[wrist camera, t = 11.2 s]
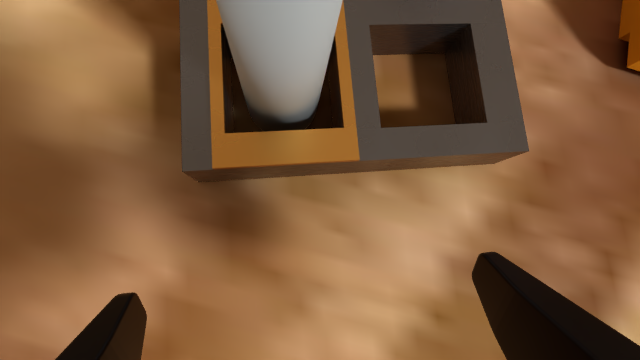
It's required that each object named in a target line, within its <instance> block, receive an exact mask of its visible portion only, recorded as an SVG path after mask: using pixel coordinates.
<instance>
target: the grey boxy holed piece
mask: <svg viewBox="0 0 640 360" xmlns="http://www.w3.org/2000/svg"><path fill="white" fill-rule="evenodd" d="M179 5H180V69H181V132H182V172H184V173H185V174H187V175H188V176H190V177H192V178H193V179H195V180H196V181H198V182H210V181H226V180H242V179H257V178H273V177H289V176H305V175H321V174H337V173H353V172H369V171H385V170H401V169H417V168H433V167H449V166H465V165H481V164H494V163H497V162H500V161H503V160H506V159H508V158H511V157H514V156H517V155H519V154H522V153H525V152H528V151H529V148H528V142H527V137H526V131H525V126H524V121H523V115H522V110H521V105H520V99H519V94H518V89H517V83H516V78H515V73H514V67H513V62H512V56H511V51H510V46H509V40H508V35H507V30H506V24H505V19H504V14H503V8H502V3H501V0H343V1H342V5H341V10H340V14H339V18H338V22H337V26H336V31H335V35H334V39H333V43H332V48H331V52H330V56H329V60H328V64H327V69H328V80H329V91H330V102H331V113H332V124H333V128H329V129H308V130H288V131H267V132H246V133H234V112H233V89H232V65H231V58H233V56H232V53H231V50H230V46H229V43H228V39H227V36H226V33H225V29H224V26H223V22H222V19H221V16H220V12H219V9H218V5H217V2H216V0H179ZM432 53H445V56H446V62H447V69H448V76H449V82H450V89H451V95H452V102H453V108H454V115H455V121H456V124H452V125H431V126H410V127H390V128H381V124H380V115H379V106H378V98H377V89H376V80H375V72H374V63H373V55H391V54H432Z"/></svg>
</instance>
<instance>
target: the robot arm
mask: <svg viewBox="0 0 640 360" xmlns="http://www.w3.org/2000/svg"><path fill="white" fill-rule="evenodd" d="M472 280H473V283H474V285H475V288H476V290H477V293H478V296H479V298H480V301H481V303H482V306H483V308H484V311H485V313H486V316H487V318H488V321H489V324H490V326H491V328H492V331H493V333H494V335H495V337H496V339H497V341H498V343H499V345H500V347H501V349H502V351H503V353H504V355H505V357H506V359H507V360H640V346H639V345H637V344H636V343H634V342H633V341H631V340H630V339H628V338H627V337H625V336H624V335H622V334H621V333H619V332H618V331H616V330H615V329H613V328H611V327H610V326H608V325H607V324H605V323H604V322H602V321H601V320H599V319H598V318H596V317H595V316H593V315H592V314H590V313H589V312H587V311H585V310H584V309H582V308H581V307H579V306H578V305H576V304H575V303H573V302H572V301H570V300H569V299H567V298H566V297H564V296H563V295H561V294H559V293H558V292H556V291H555V290H553V289H552V288H550V287H549V286H547V285H546V284H544V283H543V282H541V281H540V280H538V279H537V278H535V277H533V276H532V275H530V274H529V273H527V272H526V271H524V270H523V269H521V268H520V267H518V266H517V265H515V264H514V263H512V262H511V261H509V260H508V259H506V258H504V257H503V256H501V255H500V254H498V253H496V252H486V253H481V254H480V255H479V256H478V258H477V261H476V263H475V266H474V268H473V271H472ZM146 321H147V315H146V311H145V309H144V307H143V305H142V303H141V301H140V299H139V297H138V295H137V294H136V293H123V294H118V295H117V296H115V297H114V298H113V299H112V300H111V301H110V302H109V303H108V304H107V305H106V306H105V307H104V308H103V310H102V311H101V312H100V313H99V314H98V315H97V316H96V317H95V318H94V319H93V320H92V321H91V322H90V323H89V324H88V325H87V326H86V327H85V329H84V330H83V331H82V332H81V333H80V334H79V335H78V336H77V337H76V338H75V339H74V340H73V341H72V342H71V343H70V344H69V345H68V346H67V348H66V349H65V350H64V351H63V352H62V353H61V354H60V355H59V356H58V357H57V358H56V359H55V360H141V355H142V348H143V341H144V335H145V328H146Z"/></svg>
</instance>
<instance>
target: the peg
mask: <svg viewBox="0 0 640 360" xmlns="http://www.w3.org/2000/svg"><path fill="white" fill-rule="evenodd" d="M342 1H343V0H216V2H217V5H218V9H219V12H220V16H221V19H222V22H223V26H224V29H225V33H226V36H227V39H228V43H229V46H230V50H231V53H232V56H233V60H234V63H235V67H236V70H237V73H238V77H239V80H240V84H241V87H242V90H243V94H244V97H245V101H246V104H247V107H248V111H249V114H250V116H251V118H252V120H253V122H254V123H255V124H256V125H257V126H258V127H259V128H260V129H261V130H263V131H264V132H267V131H288V130H305V129H306V128H307V127H308V126H309V125H310V124H311V122H312V121H313V119H314V117H315V115H316V111H317V107H318V102H319V98H320V94H321V90H322V85H323V81H324V77H325V73H326V69H327V64H328V60H329V56H330V52H331V48H332V43H333V39H334V35H335V31H336V26H337V22H338V18H339V14H340V10H341V5H342Z"/></svg>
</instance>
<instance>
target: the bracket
mask: <svg viewBox="0 0 640 360" xmlns="http://www.w3.org/2000/svg"><path fill="white" fill-rule="evenodd" d="M619 39H621V40H624V41H627V42H629V48H628V59H627V68H630V69H634V70H637V71H640V0H622V10H621V20H620V31H619Z"/></svg>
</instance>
